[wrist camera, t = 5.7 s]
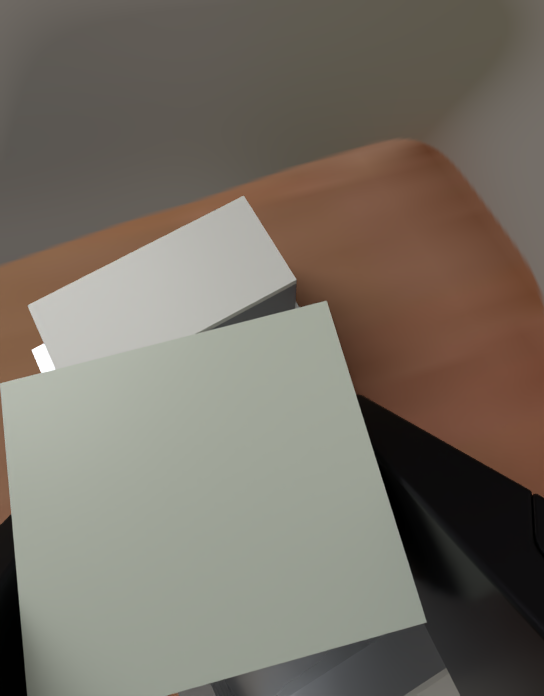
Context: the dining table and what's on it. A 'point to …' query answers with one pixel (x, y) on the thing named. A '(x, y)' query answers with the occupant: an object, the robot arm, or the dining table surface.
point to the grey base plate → (271, 682)
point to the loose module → (198, 511)
